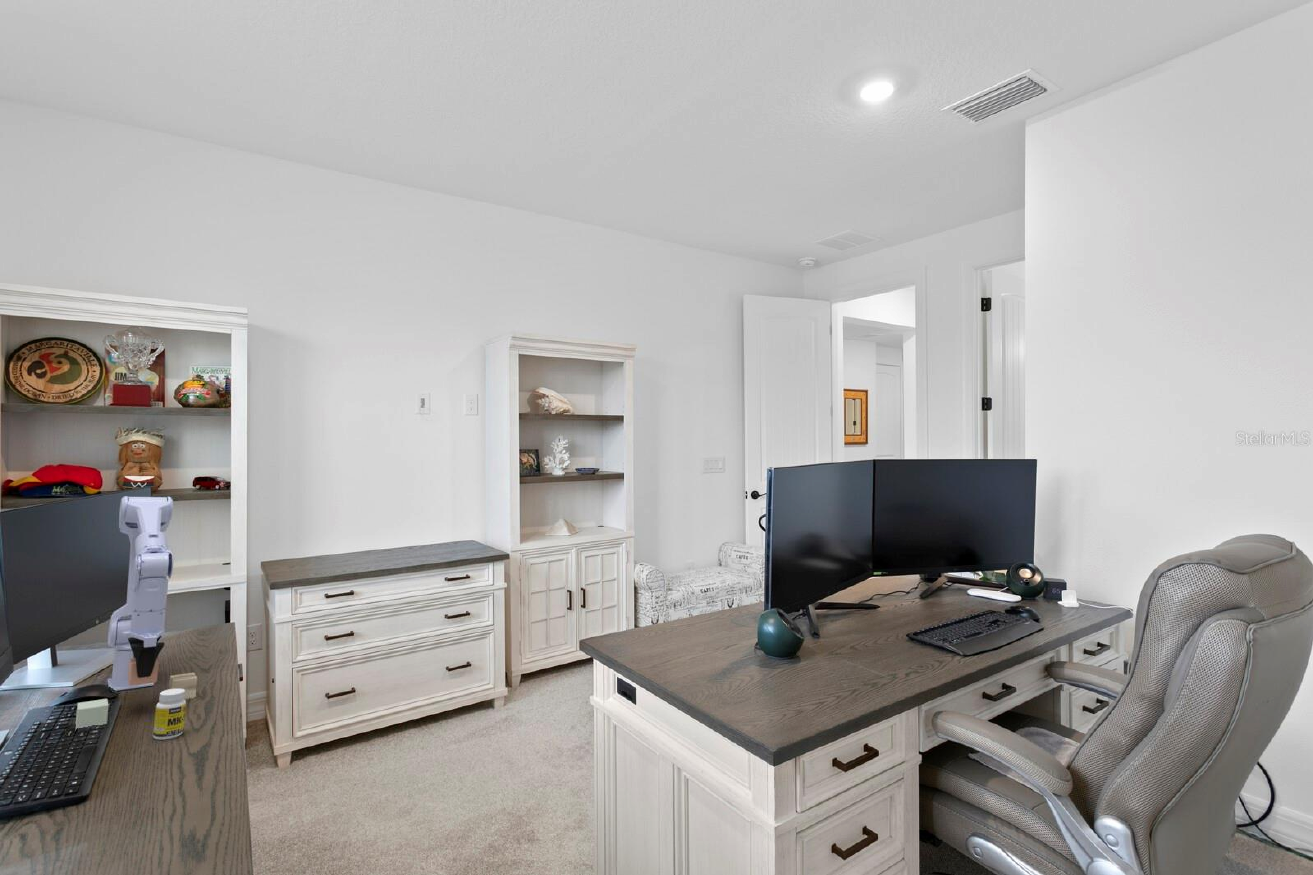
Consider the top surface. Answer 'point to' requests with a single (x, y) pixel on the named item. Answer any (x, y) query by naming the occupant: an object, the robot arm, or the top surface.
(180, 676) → the birch block
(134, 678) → the terracotta block
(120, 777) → the top surface
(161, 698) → the supplement bottle
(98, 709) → the sage block
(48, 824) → the top surface
